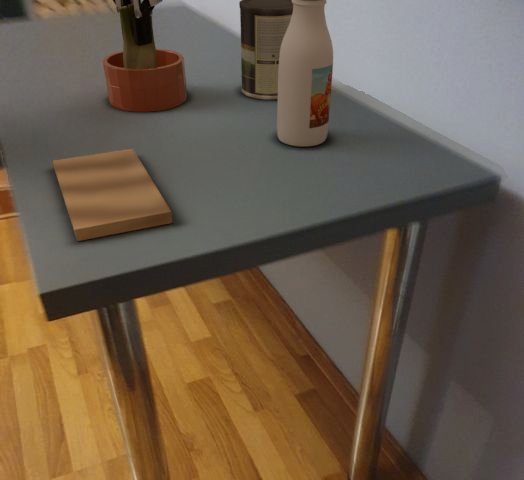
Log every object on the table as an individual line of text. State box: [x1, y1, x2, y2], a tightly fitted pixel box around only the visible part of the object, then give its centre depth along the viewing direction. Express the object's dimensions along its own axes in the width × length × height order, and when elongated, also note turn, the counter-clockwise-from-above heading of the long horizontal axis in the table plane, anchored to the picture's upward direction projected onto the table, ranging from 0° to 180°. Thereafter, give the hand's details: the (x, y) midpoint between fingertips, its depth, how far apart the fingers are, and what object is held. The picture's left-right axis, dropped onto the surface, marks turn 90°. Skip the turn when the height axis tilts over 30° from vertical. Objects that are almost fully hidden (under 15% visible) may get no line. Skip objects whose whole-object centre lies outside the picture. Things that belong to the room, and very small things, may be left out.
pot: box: [102, 48, 188, 113], centre depth 95 cm, size 14×14×6 cm
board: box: [51, 148, 174, 242], centre depth 69 cm, size 20×11×2 cm, turn 23°
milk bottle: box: [276, 0, 334, 147], centre depth 77 cm, size 8×8×20 cm
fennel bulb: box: [119, 4, 157, 69], centre depth 91 cm, size 6×5×12 cm
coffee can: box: [238, 0, 293, 101], centre depth 96 cm, size 10×10×14 cm
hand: (137, 41), depth 91 cm, fingers closed on fennel bulb
